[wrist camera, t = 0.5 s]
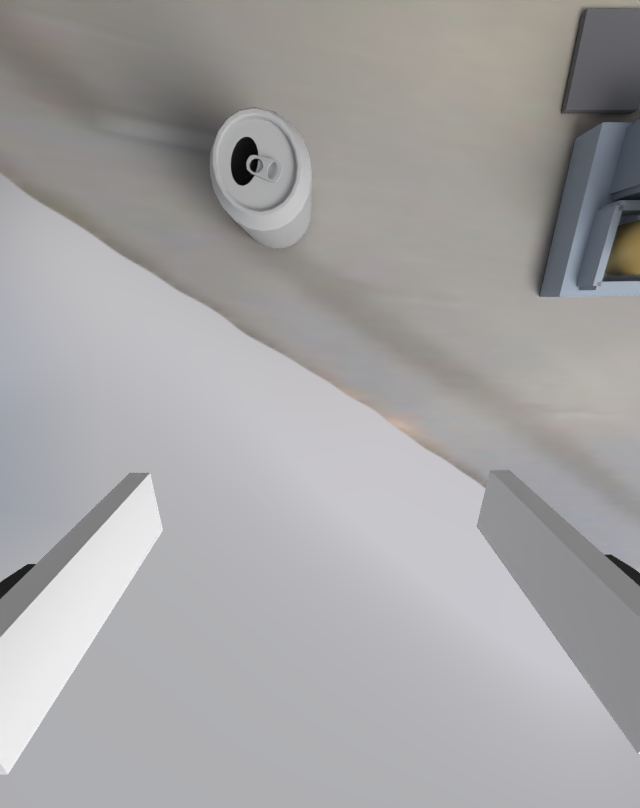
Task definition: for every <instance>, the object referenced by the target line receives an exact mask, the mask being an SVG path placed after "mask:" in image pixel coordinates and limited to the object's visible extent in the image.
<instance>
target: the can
mask: <svg viewBox="0 0 640 808" xmlns="http://www.w3.org/2000/svg"><path fill="white" fill-rule="evenodd" d="M210 176H211V181H212V185H213V190H214V192H215V194H216V196H217V198H218V200H219V202H220V204H221V206H222V207H223V208H224V209H225V211H226V212H227V213H228V214H229V215H230V216H231V217H232V218H233V219H234V220H235V221H236V222H237V223H238V224H239V225H240V226H241V227H242V228H243V229H244V230H245V231H246V232H247V233H248V234H249V235H250V236H251V237H253V238H254V239H255V240H256V241H257V242H259V243H261V244H262V245H264V246H266V247H270V248H276V249H279V248H285V247H289V246H291V245H292V244H294V243H296V242H298V240H299V239H300V238H301V237H302V236H303V235H304V234H305V232H306V230H307V228H308V226H309V223H310V219H311V212H312V173H311V165H310V157H309V153H308V151H307V149H306V146H305V144H304V141H303V139H302V137H301V135H300V134H299V133H298V132H297V130H296V129H295V128H294V127H293V125H292V124H291V123H290V122H289V121H288V120H286V119H285V118H283V117H282V116H280V115H279V114H277V113H276V112H273V111H269V110H264V109H260V108H255V107H254V108H248V109H242V110H239V111H237V112H236V113H234V114H233V115H231V116H230V117H228V118H227V119H226V120H225V122H224V123H223V125H222V126H221V127H220V129H219V130H218V132H217V134H216V137H215V140H214V143H213V146H212V149H211V152H210Z"/></svg>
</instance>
